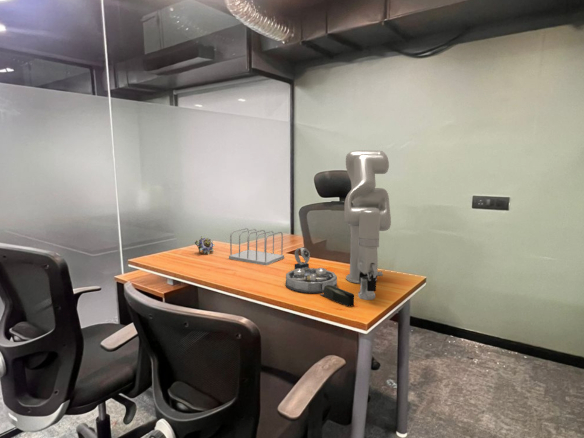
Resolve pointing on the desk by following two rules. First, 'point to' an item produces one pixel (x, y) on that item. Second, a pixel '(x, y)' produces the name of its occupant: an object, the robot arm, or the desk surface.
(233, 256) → the file sorter
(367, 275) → the robot arm
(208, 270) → the desk surface
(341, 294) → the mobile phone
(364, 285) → the grey hollow tube
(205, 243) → the passion flower
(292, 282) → the ring gear
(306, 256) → the watch
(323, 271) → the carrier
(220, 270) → the desk surface
